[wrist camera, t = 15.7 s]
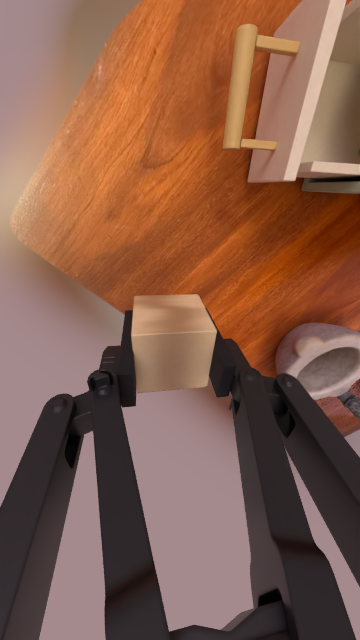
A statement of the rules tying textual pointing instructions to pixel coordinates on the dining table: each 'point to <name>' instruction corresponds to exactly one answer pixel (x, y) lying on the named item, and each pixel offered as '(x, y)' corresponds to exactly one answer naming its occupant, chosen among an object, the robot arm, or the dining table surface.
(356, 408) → the grey stone chess piece
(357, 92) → the drawer
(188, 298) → the block
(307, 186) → the cabinet
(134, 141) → the dining table surface
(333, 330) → the mortar
